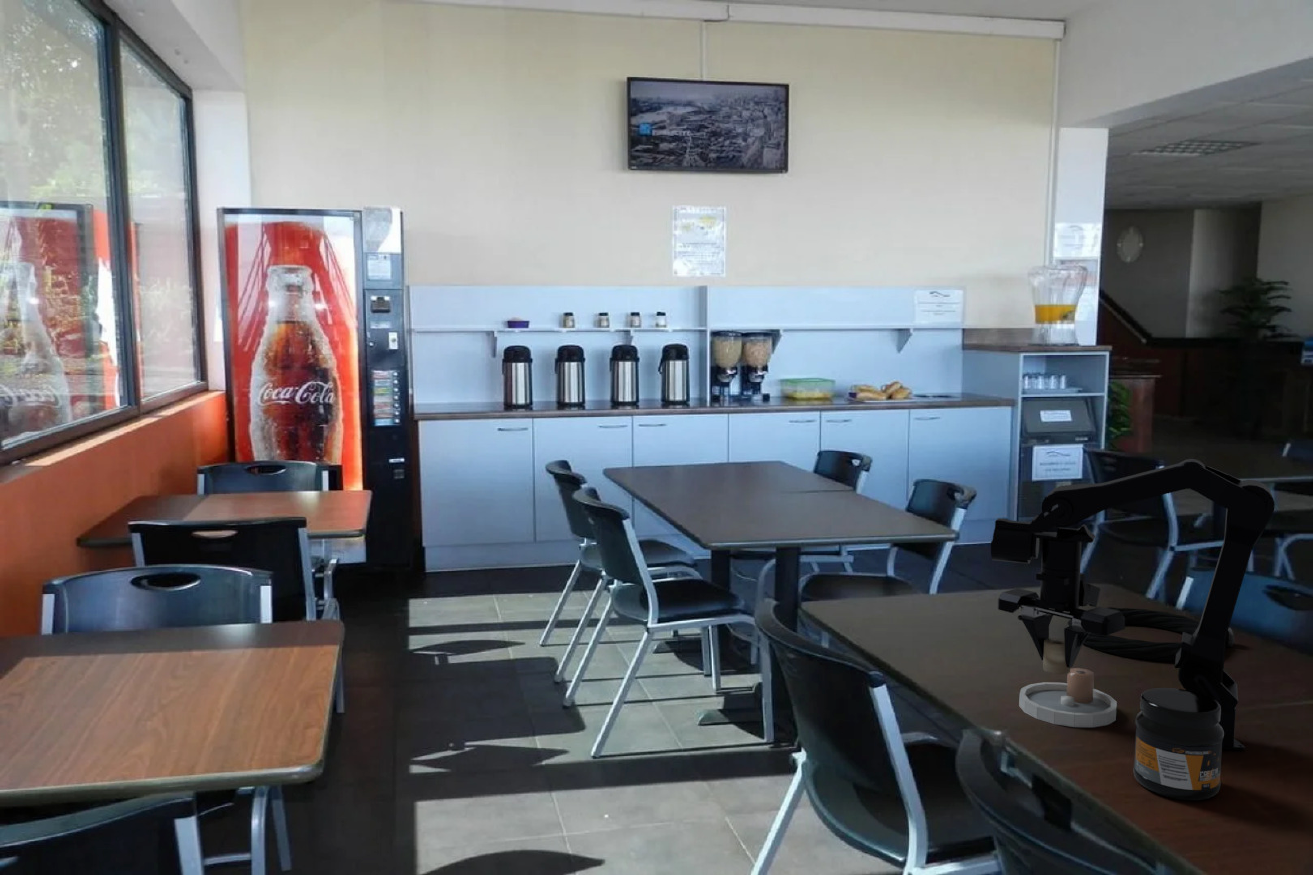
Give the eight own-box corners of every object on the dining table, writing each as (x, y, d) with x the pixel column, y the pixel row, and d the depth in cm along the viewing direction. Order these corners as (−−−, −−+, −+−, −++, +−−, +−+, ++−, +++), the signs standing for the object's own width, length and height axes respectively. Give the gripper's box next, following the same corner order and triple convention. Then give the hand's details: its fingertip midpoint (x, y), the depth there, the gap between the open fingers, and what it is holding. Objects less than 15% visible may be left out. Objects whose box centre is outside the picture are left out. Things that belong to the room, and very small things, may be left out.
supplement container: (1170, 807, 130) (1175, 717, 129) (1115, 773, 140) (1119, 689, 139) (1239, 799, 133) (1244, 710, 131) (1180, 765, 143) (1184, 683, 142)
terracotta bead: (1097, 699, 165) (1098, 672, 165) (1084, 705, 163) (1085, 677, 162) (1074, 692, 168) (1076, 666, 168) (1061, 698, 166) (1062, 671, 166)
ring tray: (1131, 728, 156) (1131, 715, 156) (1036, 726, 157) (1036, 714, 157) (1095, 694, 170) (1096, 683, 170) (1008, 693, 171) (1009, 681, 171)
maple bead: (1075, 670, 160) (1076, 642, 160) (1061, 676, 158) (1062, 647, 157) (1052, 664, 163) (1053, 636, 163) (1037, 669, 161) (1038, 641, 160)
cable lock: (1055, 602, 216) (1208, 609, 210) (1055, 619, 216) (1207, 626, 210) (1083, 640, 189) (1259, 650, 183) (1082, 660, 189) (1258, 670, 183)
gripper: (1145, 570, 156) (1140, 668, 158) (1036, 550, 171) (1033, 640, 173) (1107, 581, 149) (1102, 684, 151) (997, 559, 164) (994, 652, 166)
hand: (1057, 663), depth 160 cm, fingers closed on maple bead, 4 cm apart
